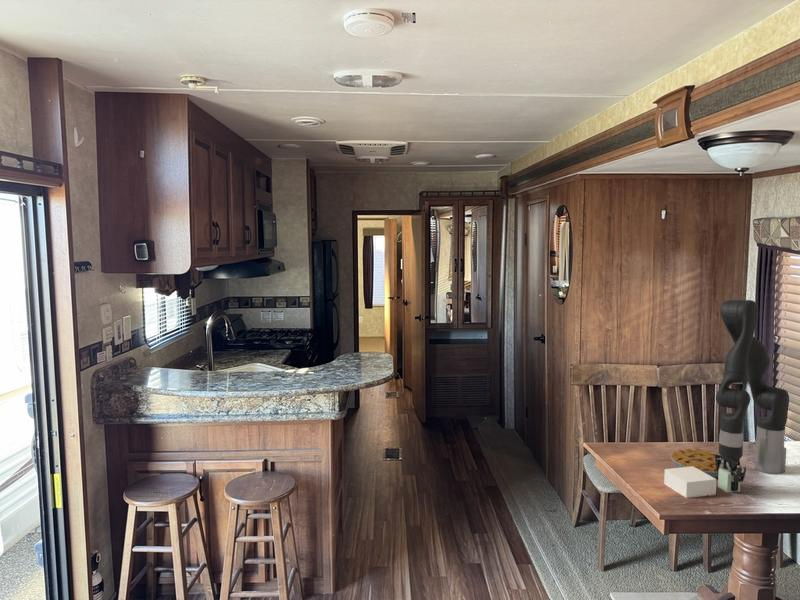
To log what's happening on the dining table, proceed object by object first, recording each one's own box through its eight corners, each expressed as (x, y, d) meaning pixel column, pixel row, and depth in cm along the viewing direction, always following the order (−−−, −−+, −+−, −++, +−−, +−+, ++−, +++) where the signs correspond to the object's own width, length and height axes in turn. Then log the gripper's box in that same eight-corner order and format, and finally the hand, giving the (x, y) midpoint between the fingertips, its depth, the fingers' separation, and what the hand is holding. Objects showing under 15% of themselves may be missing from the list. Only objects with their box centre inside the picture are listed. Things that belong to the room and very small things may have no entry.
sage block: (730, 485, 209) (731, 467, 208) (739, 491, 204) (740, 473, 203) (717, 486, 208) (718, 468, 208) (727, 492, 203) (728, 474, 203)
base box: (692, 481, 214) (693, 466, 213) (715, 495, 202) (716, 479, 201) (664, 484, 212) (664, 469, 211) (686, 498, 200) (686, 482, 199)
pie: (700, 455, 239) (700, 443, 238) (746, 475, 218) (746, 462, 218) (658, 462, 232) (659, 450, 232) (702, 483, 211) (702, 470, 211)
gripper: (754, 449, 198) (752, 495, 199) (727, 435, 212) (725, 479, 214) (734, 450, 197) (732, 497, 199) (708, 436, 211) (706, 480, 213)
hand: (728, 487), depth 206 cm, fingers closed on sage block, 5 cm apart
